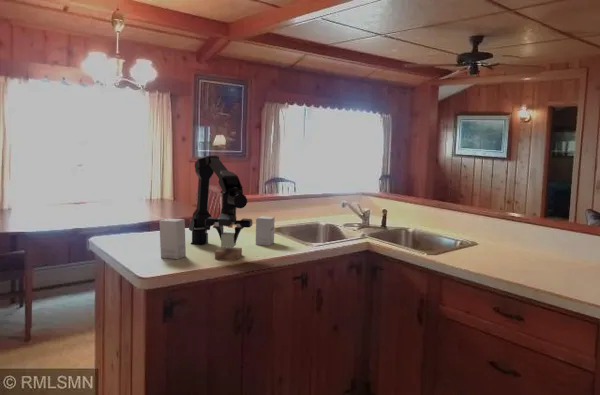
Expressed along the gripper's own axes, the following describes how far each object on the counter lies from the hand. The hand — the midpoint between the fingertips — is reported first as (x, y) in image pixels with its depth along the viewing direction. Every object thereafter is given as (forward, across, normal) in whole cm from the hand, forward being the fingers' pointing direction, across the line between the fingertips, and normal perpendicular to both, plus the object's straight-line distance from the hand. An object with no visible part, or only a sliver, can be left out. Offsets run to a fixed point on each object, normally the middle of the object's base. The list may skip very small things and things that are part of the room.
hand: (228, 242), depth 191 cm
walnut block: (+6, 0, 0) cm, 6 cm away
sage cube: (+1, 0, 0) cm, 1 cm away
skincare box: (+6, -22, -5) cm, 23 cm away
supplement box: (+6, +10, +29) cm, 31 cm away
